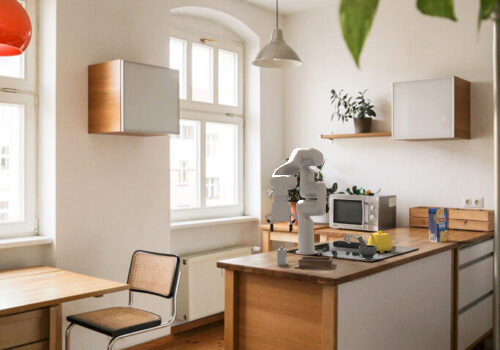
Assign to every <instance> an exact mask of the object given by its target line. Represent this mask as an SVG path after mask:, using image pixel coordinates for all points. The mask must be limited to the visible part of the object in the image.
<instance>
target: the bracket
mask: <svg viewBox="0 0 500 350" xmlns="http://www.w3.org/2000/svg"><path fill="white" fill-rule="evenodd" d="M352 238H353V239H355V240H358V239H357V238H358V236H357V235H355V234H351V233H350V234H349V233H345V235H344V237H343V239H342V240H343V241H344V242H346V243H347V244H349V245H350V244H352ZM362 239H363V241H364V242H365V244H368V239H365V238H362ZM358 241H359V240H358Z"/></svg>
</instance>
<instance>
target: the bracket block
mask: <svg viewBox="0 0 500 350" xmlns="http://www.w3.org/2000/svg"><path fill="white" fill-rule="evenodd" d="M287 254H288V253H287V247H286V248H284V246H280V248H278V249H277V252H276V255H277V256H276V257H277V261H276V263H277V266H279V267H281V266H286V265H287V264H288V255H287Z"/></svg>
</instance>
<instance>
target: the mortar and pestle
mask: <svg viewBox="0 0 500 350" xmlns="http://www.w3.org/2000/svg"><path fill="white" fill-rule="evenodd" d="M357 239H358V242H359V246H357V247H358V253H359V254H360V255H361V256H362V257H361V259H362V258H365V259H372V258H375V257H374V256H375V255H376V254H377V252H378V251H377V246H373V245H367V243H365V242H366V241H365V242H364V240H363V239H364V238H363V236H357ZM357 239H356V240H357Z"/></svg>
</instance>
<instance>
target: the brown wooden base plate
mask: <svg viewBox="0 0 500 350" xmlns="http://www.w3.org/2000/svg"><path fill="white" fill-rule="evenodd" d="M336 267H337V263H333V257H332V256H331V257H330V256H301V257H300V258H299V259H298V263H296V265H295V266H294V269H301V270H302V269H307V270H308V269H309V270H310V269H311V270H314V269H315V270H335V269H336Z"/></svg>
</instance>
